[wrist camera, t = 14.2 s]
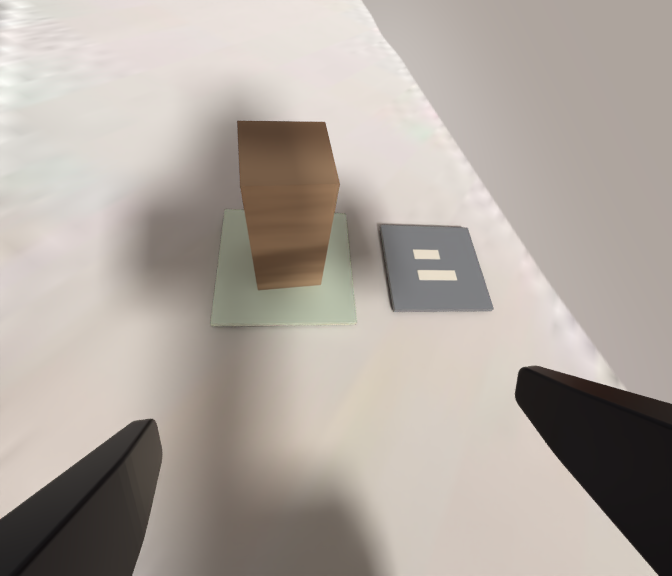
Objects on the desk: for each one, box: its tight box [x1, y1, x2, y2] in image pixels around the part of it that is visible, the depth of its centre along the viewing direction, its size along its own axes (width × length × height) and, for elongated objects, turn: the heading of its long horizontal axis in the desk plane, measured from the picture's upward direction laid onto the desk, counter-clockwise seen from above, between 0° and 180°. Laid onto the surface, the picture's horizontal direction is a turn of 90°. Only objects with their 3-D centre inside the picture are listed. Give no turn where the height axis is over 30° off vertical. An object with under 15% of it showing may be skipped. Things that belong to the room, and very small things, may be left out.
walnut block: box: [237, 121, 340, 290], centre depth 20 cm, size 5×5×10 cm
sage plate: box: [210, 209, 357, 326], centre depth 25 cm, size 10×10×1 cm
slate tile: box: [380, 225, 494, 312], centre depth 27 cm, size 8×8×1 cm
